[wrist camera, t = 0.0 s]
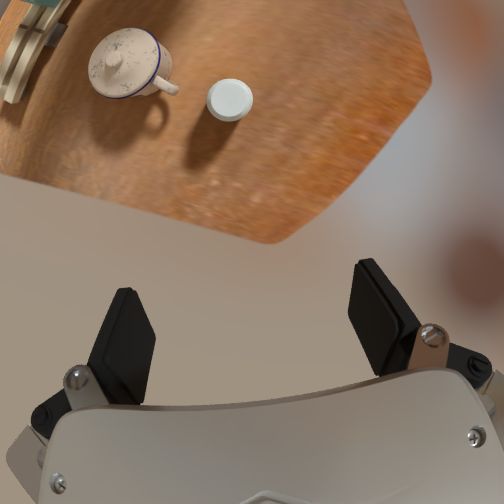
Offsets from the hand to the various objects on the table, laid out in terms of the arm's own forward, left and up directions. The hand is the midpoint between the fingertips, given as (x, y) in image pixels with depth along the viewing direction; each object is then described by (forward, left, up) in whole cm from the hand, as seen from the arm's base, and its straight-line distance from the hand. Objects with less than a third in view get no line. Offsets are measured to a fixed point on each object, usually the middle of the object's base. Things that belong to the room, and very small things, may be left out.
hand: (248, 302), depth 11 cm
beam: (-4, -40, -31) cm, 51 cm away
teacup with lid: (-4, -17, -31) cm, 36 cm away
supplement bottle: (-6, -5, -32) cm, 33 cm away
